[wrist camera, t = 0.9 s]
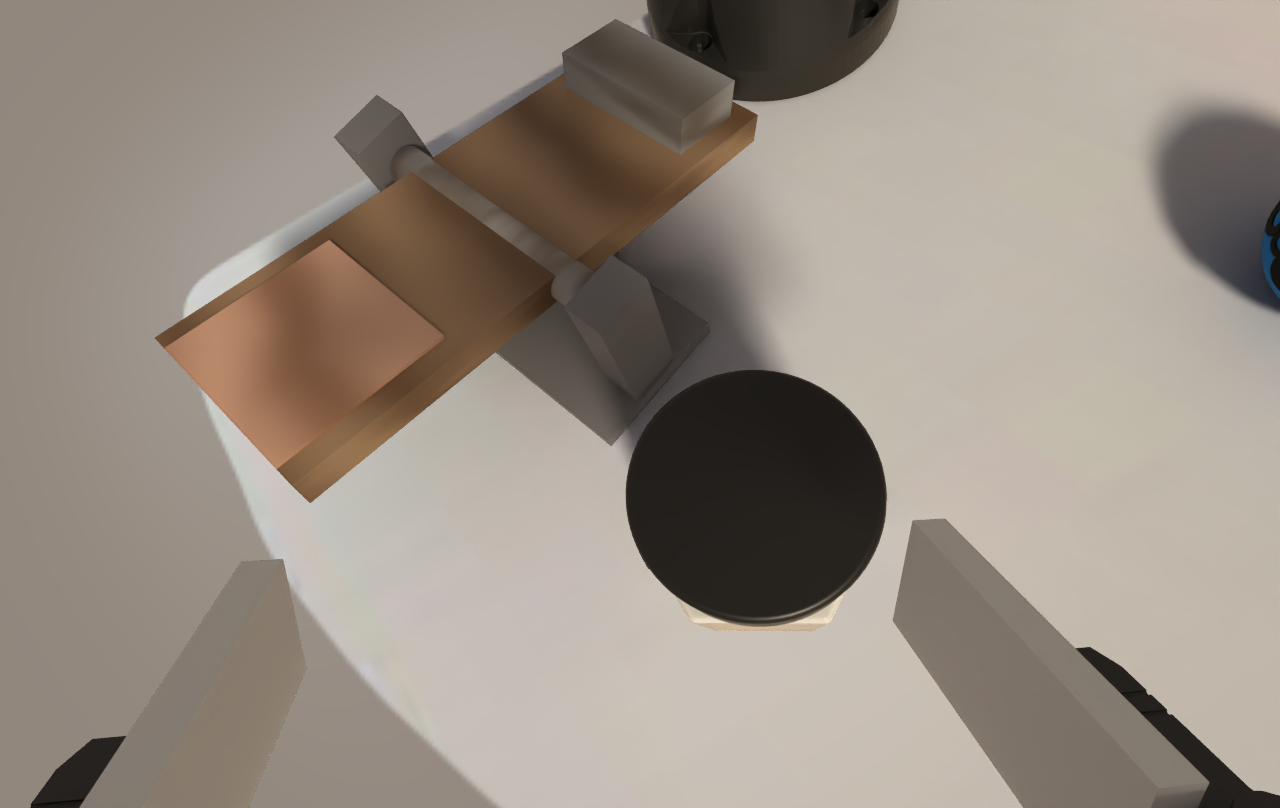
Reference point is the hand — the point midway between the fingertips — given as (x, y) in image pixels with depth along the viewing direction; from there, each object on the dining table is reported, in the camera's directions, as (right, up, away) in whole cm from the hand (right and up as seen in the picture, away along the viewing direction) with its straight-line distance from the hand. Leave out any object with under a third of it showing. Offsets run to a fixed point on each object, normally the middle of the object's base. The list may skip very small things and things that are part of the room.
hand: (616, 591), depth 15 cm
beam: (-6, +12, +18) cm, 23 cm away
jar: (+6, -3, +18) cm, 19 cm away
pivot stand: (-5, +10, +25) cm, 27 cm away
